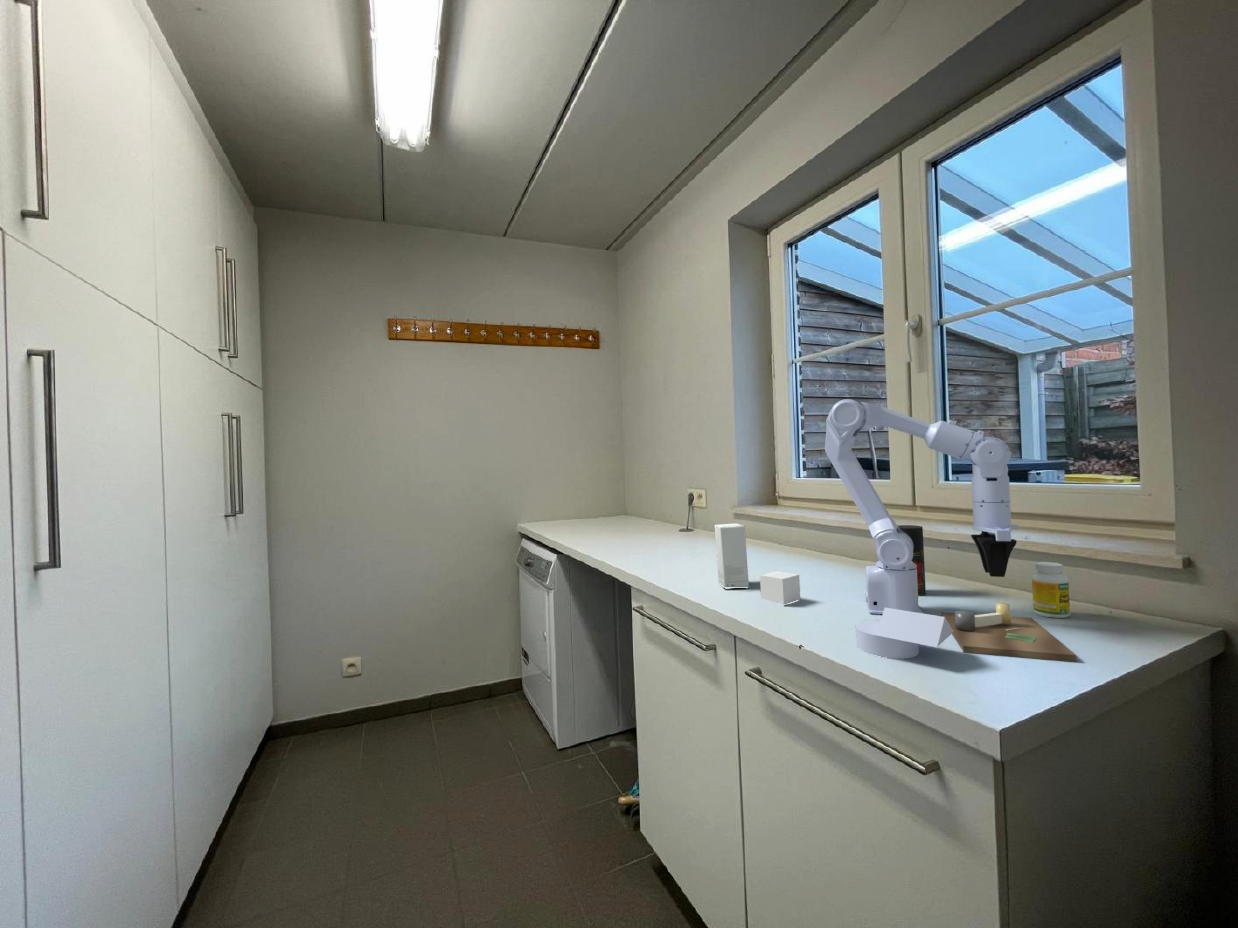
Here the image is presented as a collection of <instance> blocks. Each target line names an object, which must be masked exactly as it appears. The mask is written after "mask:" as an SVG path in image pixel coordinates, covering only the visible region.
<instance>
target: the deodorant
mask: <svg viewBox="0 0 1238 928" xmlns="http://www.w3.org/2000/svg"><path fill="white" fill-rule="evenodd" d="M897 526H898V527H899V529H900V530H901V531H902V532H904V533H906V534H907V535H908V536H909V537H910V538H911V540H912V542H913V546H914V547H913V558H912V560H911V561H912V562H913V563H915V564H916V565H917V567H916V568H917V584H918V597H919V596H920V597H921V596H926V594H927V590H926V573H925V572H926V571H925V569H926V567H925V551H924V548H925V547H924V528H923V526H921V525H916V524H915V525H914V524H913V525H912V524H901V525H900V524H897Z"/></svg>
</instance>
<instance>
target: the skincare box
mask: <svg viewBox="0 0 1238 928" xmlns="http://www.w3.org/2000/svg"><path fill="white" fill-rule="evenodd" d="M714 534H715V535H714V536H715V547H716V548H715V549H716V550H715V551H716V563H717V577H718V578H717V579H718V580H719V581H718V583H719V582H720V583H721V585H723V586H724V587H749V588H750V583H749V569H748V567H749V566H748V556H747V555H748V554H747V541H746V540H747V539H746V527H745V525H742V524H740V523H723V524H722V523H721V524H714ZM721 585H720V586H721Z"/></svg>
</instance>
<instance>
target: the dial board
mask: <svg viewBox="0 0 1238 928" xmlns="http://www.w3.org/2000/svg"><path fill="white" fill-rule="evenodd" d="M940 613H941V615H940V616H942V617H945V618H946V620H947V622H948V623H949V625H950V626H951V628H952V630H953V631H954V632H953V633H952V634H951V635H952V636H953V637H954V639H955V641H956V643H957V644H958V646H959V647H960V649H961V651H962V652H963V653H968V654H969V653H970V654H979V655H992V656H1001V657H1013V658H1016V657H1017V658H1026V659H1037V660H1051V661H1061V662H1062V661H1063V662H1073V663H1077V661H1078V659H1077V654H1075V653H1074V651H1072V650H1071V649H1069V648H1068V647H1067V645H1065V644H1064V643H1062V642H1061V641H1060V640H1059V639H1058V638H1056V637H1055V636H1054V635H1053V634H1051V633H1050V632H1049V631H1048V630H1047V629H1046V628H1044V627H1043V626H1042V625H1041V624H1040V623H1038V621H1036V620H1035V619H1034V618H1032V617H1025V616H1024V617H1023V616H1012V615H1010V617H1011V624H994V625H986V626H978V627H975V630H973V631H965V630H960V629H957V628H956V625H955V612H943V611H942V612H940ZM974 614H975V613H974ZM975 615H979V614H977V613H976V614H975Z"/></svg>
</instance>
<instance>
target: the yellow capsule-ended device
mask: <svg viewBox="0 0 1238 928" xmlns="http://www.w3.org/2000/svg"><path fill="white" fill-rule="evenodd" d="M954 613H955V625H956V628H957V629H960V630H965V631H973V630H975V627H978V626H986V625H994V624H1011V617H1012V616H1011V605H1010V603H1006V602H995V612H990V613H984V614H978V615H975V613H974V612H972V611H968V610H955V611H954ZM1010 616H1011V617H1010Z"/></svg>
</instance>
